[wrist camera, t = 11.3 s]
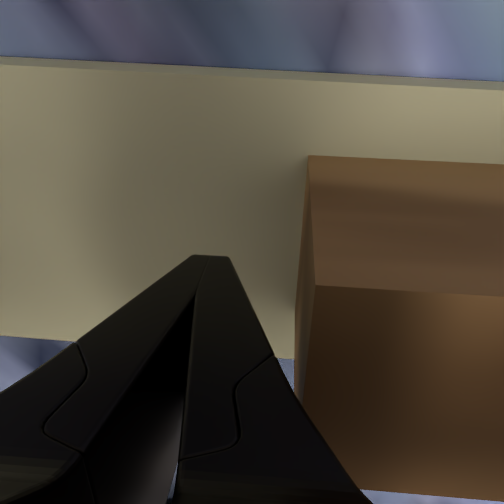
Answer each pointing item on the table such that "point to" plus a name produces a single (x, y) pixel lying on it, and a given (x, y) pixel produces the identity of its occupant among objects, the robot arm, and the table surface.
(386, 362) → the slat
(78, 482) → the robot arm
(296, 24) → the table surface
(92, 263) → the board
